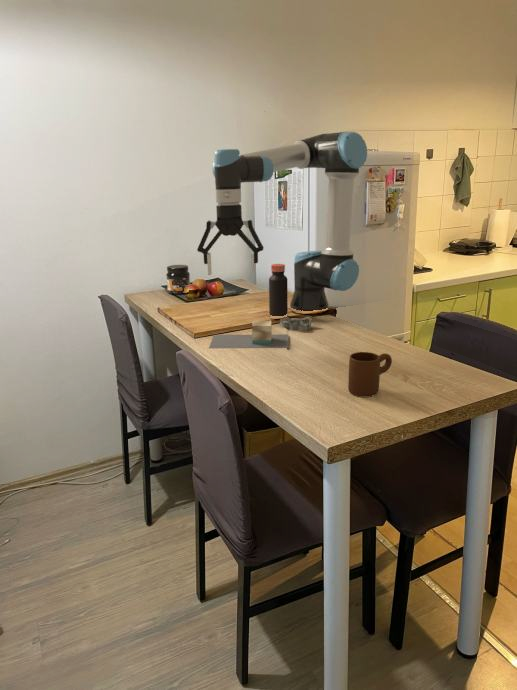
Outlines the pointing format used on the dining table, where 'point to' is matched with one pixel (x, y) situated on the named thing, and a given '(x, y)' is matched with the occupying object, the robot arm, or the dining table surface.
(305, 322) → the egg carton
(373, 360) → the mug
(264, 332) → the maple cube
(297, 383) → the dining table surface
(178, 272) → the supplement container
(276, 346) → the rubber mat
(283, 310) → the bottle
